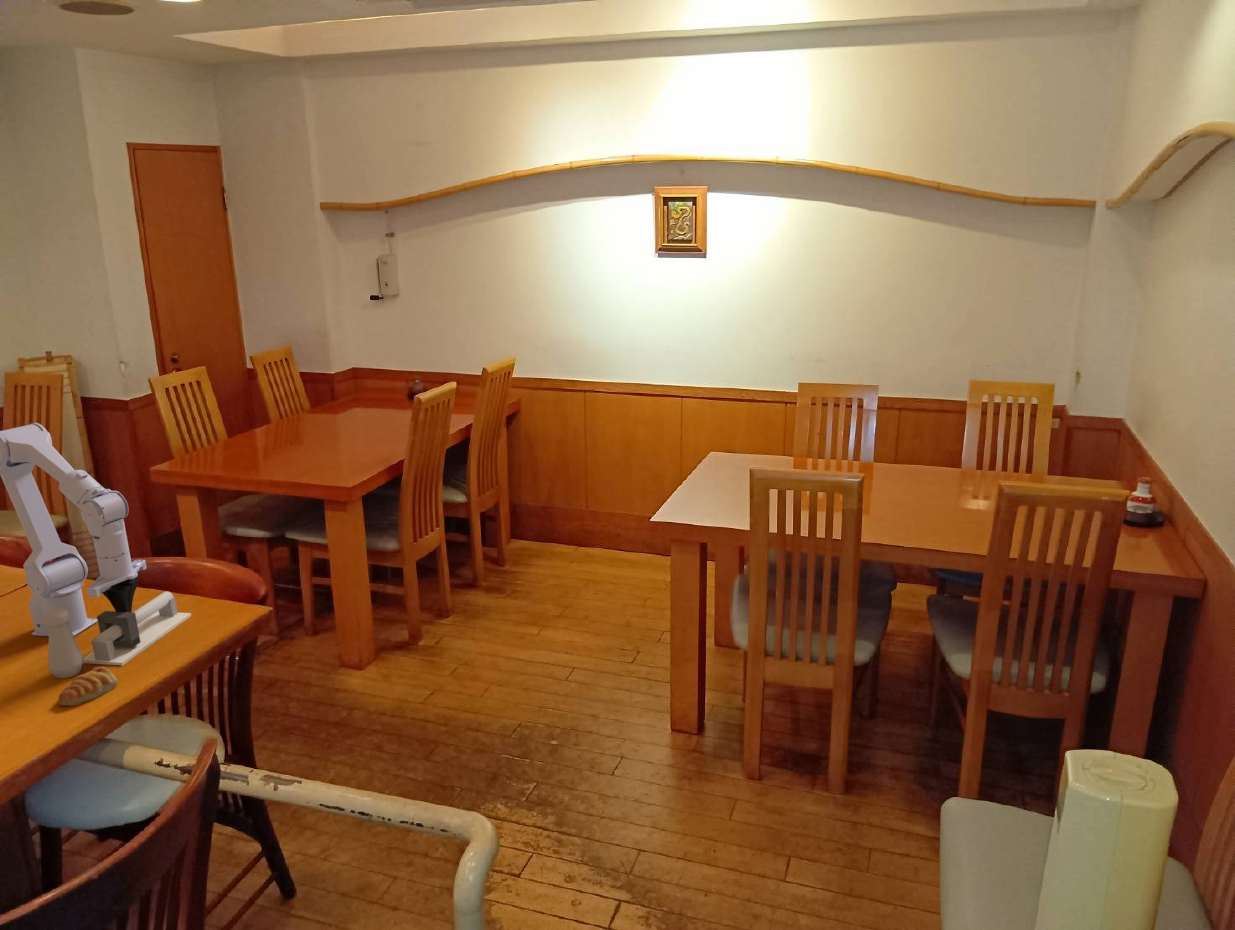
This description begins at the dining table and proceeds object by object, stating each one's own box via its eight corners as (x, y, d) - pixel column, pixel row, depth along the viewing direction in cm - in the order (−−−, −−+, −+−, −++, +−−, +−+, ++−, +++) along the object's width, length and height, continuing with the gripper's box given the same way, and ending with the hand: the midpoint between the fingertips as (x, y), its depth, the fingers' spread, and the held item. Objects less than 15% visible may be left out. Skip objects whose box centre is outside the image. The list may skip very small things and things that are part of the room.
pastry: (77, 712, 154) (73, 692, 153) (49, 705, 156) (45, 686, 155) (122, 685, 163) (118, 667, 162) (94, 680, 165) (91, 662, 164)
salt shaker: (68, 682, 164) (55, 619, 160) (43, 679, 165) (29, 617, 161) (92, 667, 169) (80, 606, 166) (67, 664, 170) (54, 603, 167)
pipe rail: (122, 665, 170) (117, 638, 168) (81, 662, 171) (75, 635, 169) (191, 615, 190) (187, 590, 189) (154, 613, 192) (149, 588, 190)
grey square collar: (132, 647, 174) (126, 617, 172) (102, 646, 175) (96, 616, 173) (140, 642, 176) (135, 612, 174) (111, 640, 177) (105, 610, 175)
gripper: (105, 568, 165) (117, 632, 169) (155, 540, 179) (165, 601, 183) (72, 566, 166) (85, 630, 170) (124, 539, 180) (135, 599, 184)
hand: (124, 615), depth 176 cm, fingers closed
